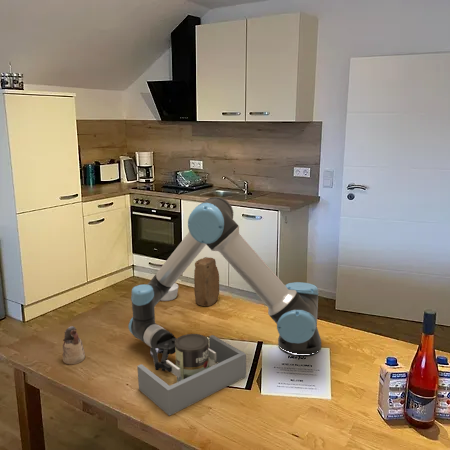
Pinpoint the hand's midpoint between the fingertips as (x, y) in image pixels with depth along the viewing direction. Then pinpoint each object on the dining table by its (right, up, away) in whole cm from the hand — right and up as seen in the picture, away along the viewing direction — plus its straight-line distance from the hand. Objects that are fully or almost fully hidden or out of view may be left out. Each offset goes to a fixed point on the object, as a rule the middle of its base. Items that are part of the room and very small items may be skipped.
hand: (198, 365), depth 139 cm
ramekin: (-18, +9, +69) cm, 72 cm away
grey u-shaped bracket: (-2, -7, +4) cm, 8 cm away
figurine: (-43, -4, +18) cm, 47 cm away
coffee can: (-2, -7, +4) cm, 8 cm away
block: (+1, +8, +63) cm, 63 cm away
